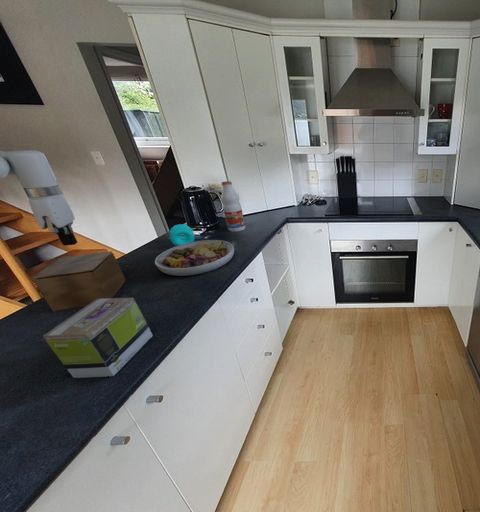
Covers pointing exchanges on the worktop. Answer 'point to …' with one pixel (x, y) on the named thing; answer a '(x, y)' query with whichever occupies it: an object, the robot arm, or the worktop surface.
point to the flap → (80, 258)
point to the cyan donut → (181, 230)
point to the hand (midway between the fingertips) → (70, 244)
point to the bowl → (195, 257)
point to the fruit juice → (232, 208)
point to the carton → (79, 283)
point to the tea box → (100, 337)
